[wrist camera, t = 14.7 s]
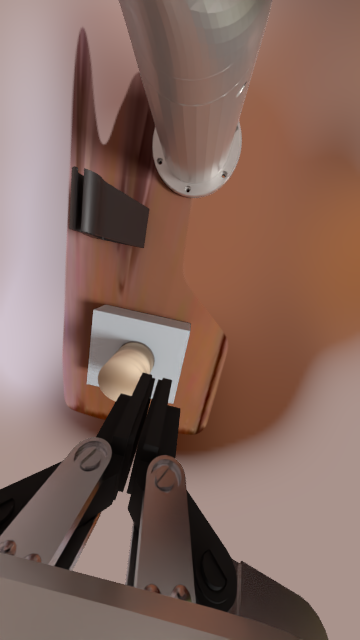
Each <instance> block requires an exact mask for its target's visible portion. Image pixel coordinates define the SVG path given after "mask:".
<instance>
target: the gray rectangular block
mask: <svg viewBox="0 0 360 640" xmlns="http://www.w3.org/2000/svg"><path fill="white" fill-rule="evenodd" d="M190 328H191V323H186V322H182V321H177V320H173V319H168V318H164V317H159V316H155V315H150V314H146V313H141V312H137V311H132V310H128V309H123V308H119V307H114V306H110V305H104V306H101V307H99V308H96V309H94V310H93V320H92V331H91V342H90V354H89V365H88V376H87V384H90V385H94V386H99V384H98V374H99V371H100V369H101V368H102V367H103V366H104V365H105V364H106V363H107V362H108V361H109V359H110V358H111V357H112V356H113V355H114V354H115V353H116V352H117V351H118V350H119V348H120V347H121V346H122V345H124V344H125V343H127V342H131V341H137V342H141V343H144V344H145V345H147V346H148V347H149V348H150V349H151V350H152V352H153V354H154V358H155V362H154V366H153V369H152V370H151V372H150V374H151V375H152V378H155V383H154V387H153V391H152V395H151V399H152V398H153V395H154V391H155V388H156V385H157V382H158V379H159V380H162V379H163V378H167V379H170V380H172V384H171V389H170V394H169V399H168V403H172V404H173V402H174V398H175V394H176V390H177V385H178V381H179V377H180V373H181V368H182V364H183V360H184V355H185V351H186V347H187V343H188V338H189V334H190Z"/></svg>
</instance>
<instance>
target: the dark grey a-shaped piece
mask: <svg viewBox="0 0 360 640" xmlns="http://www.w3.org/2000/svg"><path fill="white" fill-rule="evenodd" d="M148 214H149V208H147V207H145V206H144V205H142V204H140V203H139V202H137V201H136V200H134V199H132V198H131V197H129V196H127V195H126V194H124V193H123V192H121V191H119V190H118V189H116V188H114V187H113V186H111V185H110V184H108V183H107V182H105V181H104V180H103V179H102V177H101V176H99V175H98V174H96V173H95V172H92V171H90V170H88V169H85V168H84V176H83V175H81V174H79V173H78V168H77V167H72V179H71V202H70V226H69V229H72V230H75V231H78V232H81V233H83V234H86V235H88V236H90V237H93V238H97V239H102V240H107V241H112V242H117V243H121V244H126V245H131V246H136V247H141V248H144V243H145V235H146V228H147V221H148Z"/></svg>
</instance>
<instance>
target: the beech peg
mask: <svg viewBox="0 0 360 640" xmlns="http://www.w3.org/2000/svg"><path fill="white" fill-rule="evenodd" d="M154 362H155V358H154V354H153V352H152V350H151V349H150V348H149V347H148V346H147V345H145V344H144V343H141V342H137V341H131V342H127V343H125V344H124V345H122V346H121V347H120V348H119V350H118V351H117V352H116V353H115V354H114V355H113V356H112V357H111V358H110V359H109V361H108V362H107V363H106V364H105V365H104V366H103V367H102V368H101V369H100V371H99V374H98V384H99V387H100V389H101V391H102V392H103V393H104V394H105V395H106V396H107V397H108V398H110V399H112V400H114V401H117V399H118V397H119V395H120V394H121V393H122V394H126V395H130V396H132V394H133V392H134V390H135V387H136V385H137V383H138V381H139V379H140V377H141V375H142V373H147V374H150V372H151V370H152V369H153V366H154Z"/></svg>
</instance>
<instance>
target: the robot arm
mask: <svg viewBox="0 0 360 640" xmlns="http://www.w3.org/2000/svg"><path fill="white" fill-rule="evenodd" d="M119 3H120V6H121V9H122V12H123V16H124V19H125V22H126V26H127V29H128V33H129V36H130V40H131V43H132V46H133V50H134V54H135V57H136V61H137V64H138V68H139V71H140V75H141V78H142V82H143V85H144V89H145V92H146V96H147V99H148V103H149V106H150V110H151V113H152V117H153V120H154V123H155V130H154V134H153V143H152V149H153V158H154V162H155V165H156V168H157V171H158V173H159V175H160V177H161V178H162V180H163V181H164V183H165V184H166V185H167V186H168V187H169V188H170V189H171V190H173V191H174V192H175V193H177V194H179V195H181V196H185V197H189V198H199V197H204V196H207V195H210V194H212V193H214V192H215V191H217V190H218V189H220V188H221V187H222V186H223V185H224V184H225V183H226V182H227V180H228V179H229V178H230V177H231V175H232V173H233V171H234V169H235V167H236V165H237V162H238V160H239V156H240V152H241V143H242V136H241V127H240V123H239V117H240V113H241V110H242V107H243V103H244V99H245V96H246V92H247V89H248V86H249V82H250V79H251V75H252V72H253V68H254V65H255V62H256V58H257V55H258V51H259V48H260V44H261V41H262V38H263V34H264V31H265V27H266V23H267V20H268V16H269V12H270V8H271V3H272V0H119ZM160 163H162V164H161V165H159V164H160ZM223 175H224V176H225V178H223V177H222V176H223ZM187 190H190V192H186V191H187ZM154 383H155V378H152V375H151V374H147V373H142V375H141V377H140V379H139V381H138V383H137V385H136V387H135V390H134V392H133V394H132V396H130V395H126V394H122V393H121V394H120V395H119V397H118V399H117V401H116V402H115V404H114V406H113V408H112V409H111V411H110V413H109V415H108V417H107V418H106V420H105V422H104V424H103V426H102V427H101V429H100V431H99V433H98V434H97V436H96V438H88V439H85V440H83V441H82V442H80V443H79V444H78V445H76V446H75V447H74V448H73V450H72V451H71V452H70V453H69V454H68V456H67V457H66V458H65V459H64V460H63V461H62V462H60V463H57V464H55V465H53V466H51V467H49V468H46V469H44V470H42V471H40V472H38V473H35V474H33V475H31V476H29V477H27V478H24V479H22V480H20V481H18V482H16V483H13V484H11V485H9V486H7V487H5V488H3V489H0V640H328V637H327V633H326V630H325V628H324V626H323V624H322V622H321V620H320V618H319V617H318V615H317V613H316V612H315V611H314V609H313V608H312V607H311V605H310V604H309V603H308V602H307V601H305V600H304V599H303V598H302V597H301V596H299V595H297V594H296V593H294V592H293V591H291V590H289V589H288V588H286V587H284V586H282V585H281V584H279V583H278V582H276V581H274V580H273V579H271V578H269V577H268V576H266V575H264V574H263V573H261V572H259V571H258V570H256V569H255V568H253V567H251V566H249V565H248V564H246V563H245V562H243V561H241V562H240V563H238V562H236V561H235V560H233V559H232V558H231V557H230V555H229V553H228V551H227V550H226V548H225V547H224V545H223V544H222V542H221V541H220V539H219V538H218V536H217V535H216V533H215V532H214V530H213V529H212V527H211V526H210V524H209V523H208V521H207V520H206V518H205V517H204V515H203V514H202V512H201V511H200V509H199V508H198V506H197V505H196V503H195V502H194V500H193V499H192V497H191V496H190V494H189V493H188V491H187V489H186V477H185V472H184V469H183V467H182V465H181V464H180V463H179V462H178V461H177V460H176V459H175V456H176V446H177V437H178V428H179V418H180V408H176V407H172V406H169V405H167V404H168V399H169V394H170V389H171V384H172V380H170V379H167V378H163V379H162V380H159V379H158V382H157V385H156V388H155V391H154V395H153V398H152V401H151V404H150V399H151V395H152V391H153V387H154ZM149 404H150V407H149ZM148 408H149V410H148ZM147 412H148V414H147ZM146 416H147V417H146ZM137 446H138V447H137ZM136 449H137V451H136ZM135 452H136V455H135ZM134 455H135V460H134V464H133V468H132V473H131V477H130V482H129V486H128V490H127V493H128V494H131V497H130V501H129V505H128V511H129V513H130V515H131V517H132V519H133V526H132V535H131V543H130V552H129V559H128V567H127V575H126V583H125V585H124V584H120V583H116V582H112V581H109V580H105V579H101V578H97V577H93V576H89V575H86V574H82V573H78V572H74V571H72V570H73V568H74V566H75V564H76V562H77V560H78V558H79V557H80V554H81V553H82V550H83V549H84V547H85V545H86V543H87V541H88V539H89V537H90V535H91V533H92V531H93V529H94V527H95V525H96V523H97V521H98V519H99V517H100V514H101V512H102V511H103V510H104V509H106V508H107V507H109V506H110V505H112V502H113V500H115V499H116V496H117V493H118V491H121V492H123V490H124V487H125V484H126V481H127V478H128V474H129V471H130V468H131V465H132V462H133V458H134Z"/></svg>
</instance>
